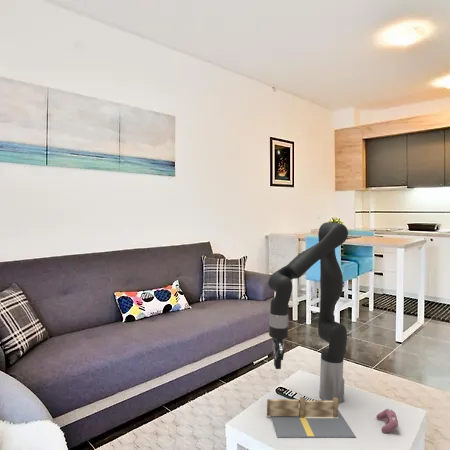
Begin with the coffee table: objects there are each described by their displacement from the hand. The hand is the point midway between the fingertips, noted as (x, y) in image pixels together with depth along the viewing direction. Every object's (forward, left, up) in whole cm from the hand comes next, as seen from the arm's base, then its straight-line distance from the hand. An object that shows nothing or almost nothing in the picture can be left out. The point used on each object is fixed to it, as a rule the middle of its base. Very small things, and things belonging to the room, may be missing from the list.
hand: (277, 367), depth 144 cm
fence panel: (-1, +6, -16) cm, 17 cm away
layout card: (-11, +9, -17) cm, 22 cm away
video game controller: (-40, +12, -17) cm, 45 cm away
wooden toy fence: (-15, +6, -17) cm, 24 cm away
